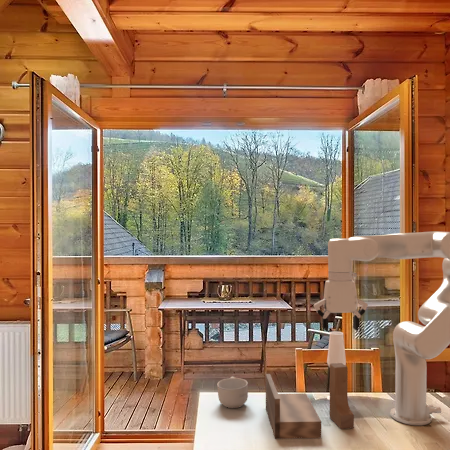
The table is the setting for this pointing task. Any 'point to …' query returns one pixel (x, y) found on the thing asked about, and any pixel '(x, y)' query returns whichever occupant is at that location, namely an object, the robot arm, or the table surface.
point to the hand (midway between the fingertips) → (340, 329)
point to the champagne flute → (336, 349)
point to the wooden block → (340, 396)
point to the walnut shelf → (291, 414)
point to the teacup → (232, 392)
